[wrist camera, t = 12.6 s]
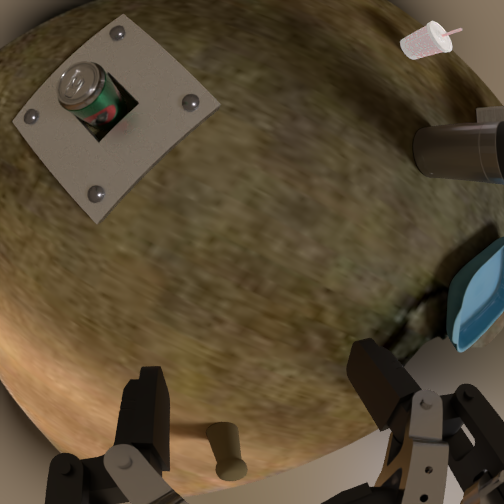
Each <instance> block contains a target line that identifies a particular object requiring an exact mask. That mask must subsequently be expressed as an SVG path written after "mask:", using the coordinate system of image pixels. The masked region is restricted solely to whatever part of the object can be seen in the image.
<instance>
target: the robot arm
mask: <svg viewBox="0 0 504 504" xmlns="http://www.w3.org/2000/svg"><path fill="white" fill-rule="evenodd" d="M413 152H414V158H415V161H416V164H417V166H418V168H419V169H420V171H421V172H422V173H423V174H424V175H425V176H427V177H430V178H445V179H456V180H467V181H477V182H486V183H495V184H502V185H504V121H495V122H478V123H459V124H448V125H439V126H432V127H426V128H421V129H419V130H418V131H417V133H416V135H415V138H414V142H413ZM346 371H347V376H348V378H349V380H350V382H351V384H352V385H353V387H354V388H355V390H356V392H357V393H358V395H359V397H360V398H361V400H362V402H363V403H364V405H365V407H366V408H367V410H368V412H369V413H370V415H371V416H372V418H373V420H374V421H375V423H376V425H377V426H378V428H379V430H380V431H384V430H386V429H388V428H390V429H391V431H392V432H391V434H390V437H389V442H388V447H387V451H386V456H385V460H384V464H383V468H382V471H381V473H380V475H379V477H378V479H377V481H376V483H375V486H374V487H369V485H368V483H364V484H362V485H359V486H356V487H354V488H351V489H348V490H345V491H343V492H341V493H339V494H337V495H335V496H334V497H332V498H330V499H329V500H327V501H325V502H323V503H321V504H443V499H444V492H445V486H446V477H447V467H448V465H449V467H450V469H451V471H452V472H453V474H454V476H455V477H456V479H457V481H458V483H459V485H460V487H461V488H462V490H463V492H464V496H463V499H462V501H461V503H460V504H504V422H503V420H502V419H501V418H500V416H499V415H498V414H497V412H496V411H495V410H494V409H493V407H492V406H491V405H490V403H489V402H488V401H487V400H486V399H485V397H484V396H483V395H482V394H481V392H480V391H479V390H478V389H477V388H476V387H475V386H473V385H471V384H462V385H460V386H459V387H458V388H457V390H456V391H455V393H454V394H448V395H442V396H439V395H438V394H437V393H435V392H434V391H431V390H426V389H425V390H422V389H421V388H420V387H419V385H418V384H417V383H416V382H415V380H414V379H413V378H412V377H411V376H410V374H409V373H408V372H407V371H406V370H405V368H404V367H402V365H401V363H400V362H399V361H397V358H396V357H395V356H394V355H393V354H392V352H390V351H389V350H387V349H385V348H384V347H382V346H381V347H379V346H378V345H377V344H376V343H375V341H374V340H373V339H372V338H367V339H363V340H359V341H355V342H354V343H353V345H352V348H351V352H350V356H349V360H348V363H347V368H346ZM463 424H465V425H466V427H467V428H468V430H469V431H470V433H471V434H472V436H473V437H474V438H475V446H473V445H472V443H471V442H470V440H469V439H468V437H467V436H466V434H465V433H464V431H463V430H462V428H461V426H462V425H463ZM169 431H170V398H169V392H168V388H167V385H166V382H165V379H164V376H163V372H162V369H161V367H160V366H150V367H141V371H140V377H139V379H130V381H129V382H128V384H127V385H126V386H125V388H124V390H123V395H122V402H121V406H120V412H119V417H118V423H117V430H116V436H115V442H114V445H113V447H111V448H110V449H109V450H108V451H107V452H106V453H105V454H104V455H102V456H99V457H94V458H88V459H82V460H79V458H77V457H76V456H75V455H73V454H70V453H61V454H58V455H57V456H55V457H54V458H53V459H52V461H51V463H50V467H49V474H48V481H47V489H46V498H45V504H119V503H125V502H130V503H132V504H188V503H187V502H186V501H185V500H184V499H183V498H182V497H181V496H180V495H179V494H177V493H176V492H175V491H174V490H173V489H172V488H171V487H170V486H169V485H168V484H167V483H166V482H165V481H164V480H163V478H162V471H170V448H169Z"/></svg>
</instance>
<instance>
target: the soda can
mask: <svg viewBox="0 0 504 504" xmlns="http://www.w3.org/2000/svg"><path fill="white" fill-rule="evenodd" d="M57 97H58V101H59V103H60V105H61V106H62V107H63V108H64V109H66V110H67V111H69V112H71V113H72V114H74V115H75V116H77V117H79V118H80V119H82V120H84V121H85V122H87V123H88V124H90V125H92V126H93V127H95V128H97V129H99V130H110V129H112V128H114V127H115V126H116V125H117V124H118V123H119V122H120V121H121V120H122V119H123V118H124V117H125V114H126V111H127V105H126V101H125V99H124V98H123V96H122V95H121V94H120V92H119V91H118V89H117V88H116V86H115V85H114V83H113V82H112V81H111V79H110V78H109V76H108V75H107V73H106V72H105V70H104V69H103V67H102V66H100V65H99V64H97V63H94V62H88V61H82V62H78V63H75V64H73V65H72V66H70V67H69V68H68V69H67V70H66V71H65V72H64V73H63V74H62V75H61V77H60V79H59V81H58V84H57Z"/></svg>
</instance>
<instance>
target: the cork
mask: <svg viewBox="0 0 504 504" xmlns="http://www.w3.org/2000/svg"><path fill="white" fill-rule="evenodd" d="M206 434H207V437H208V440H209V442H210V445H211V448H212V451H213V453H214V456H215V458H216V461H217V465H216V473H217V475H218V477H219V478H220V479H222V480H225V481H236V480H239V479H241V478H243V477H244V476H246V473H247V465H246V463H245V462H244V461H243V460H242V459H241V451H240V442H239V432H238V427H237V426H236V425H234V424H232V423H229V422H220V423H216V424H213V425H211V426H210V427H209V428H208V429H207V431H206Z"/></svg>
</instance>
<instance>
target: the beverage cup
mask: <svg viewBox="0 0 504 504" xmlns="http://www.w3.org/2000/svg"><path fill="white" fill-rule="evenodd" d="M462 30H463V29H462V28H459V29H456V30H453V31H450V32H446V31H445V30H444V29H443V27H442V26H441V25H439V24H438V23H437V22H434V21H432V22H429V23H428V24H427V26H425V27H423V28H421V29H419V30H417V31H416V32H414V33H412V34H410V35H409V36H407V37H405V38H403V39H402V40H401V41H400V45H401V48H402V50H403V52H404V53H405V54H406V55H407V56H408V57H409V58H411V59H418V58H422V57H425V56H429V55H433V54H437V53H441V52H446V53H447V52H450V51H452V43H451V40H450V38H449V35H450V34H453V33H456V32H459V31H462Z"/></svg>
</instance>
